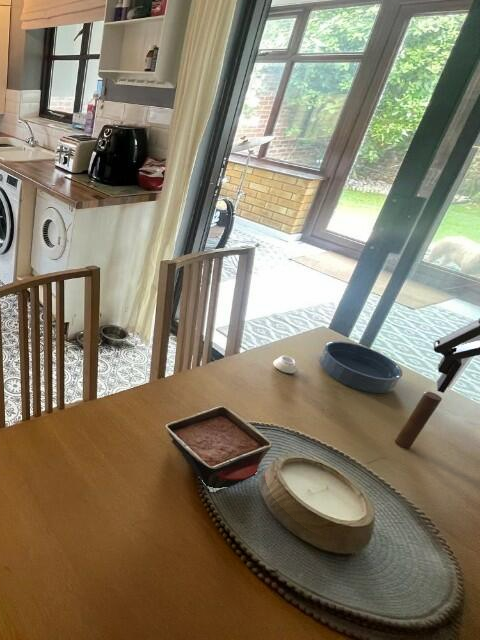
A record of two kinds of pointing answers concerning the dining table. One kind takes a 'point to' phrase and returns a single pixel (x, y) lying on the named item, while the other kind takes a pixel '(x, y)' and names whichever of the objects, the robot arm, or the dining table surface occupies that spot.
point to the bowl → (360, 367)
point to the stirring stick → (417, 419)
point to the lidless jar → (285, 364)
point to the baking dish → (219, 446)
